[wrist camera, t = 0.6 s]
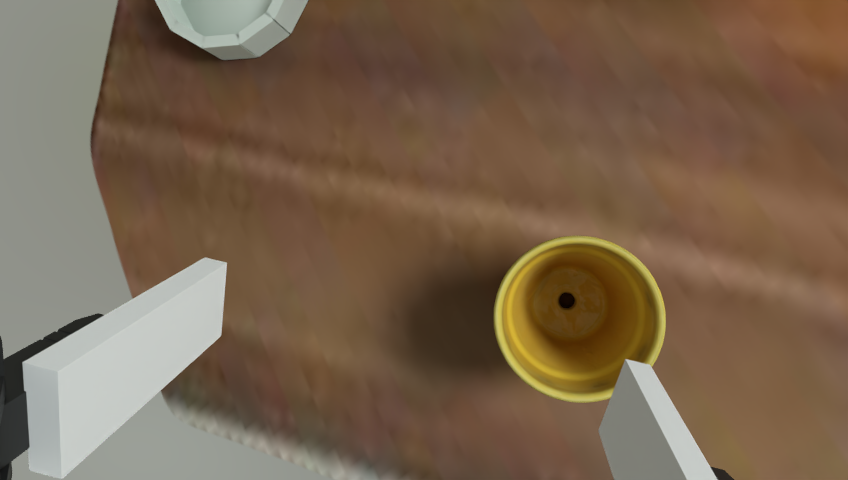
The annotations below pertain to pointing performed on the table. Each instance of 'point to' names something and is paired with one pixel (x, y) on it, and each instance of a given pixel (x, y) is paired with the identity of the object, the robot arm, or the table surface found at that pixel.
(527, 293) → the plant pot
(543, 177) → the table surface
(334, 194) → the table surface
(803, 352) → the table surface
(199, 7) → the celadon dish
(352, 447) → the table surface
